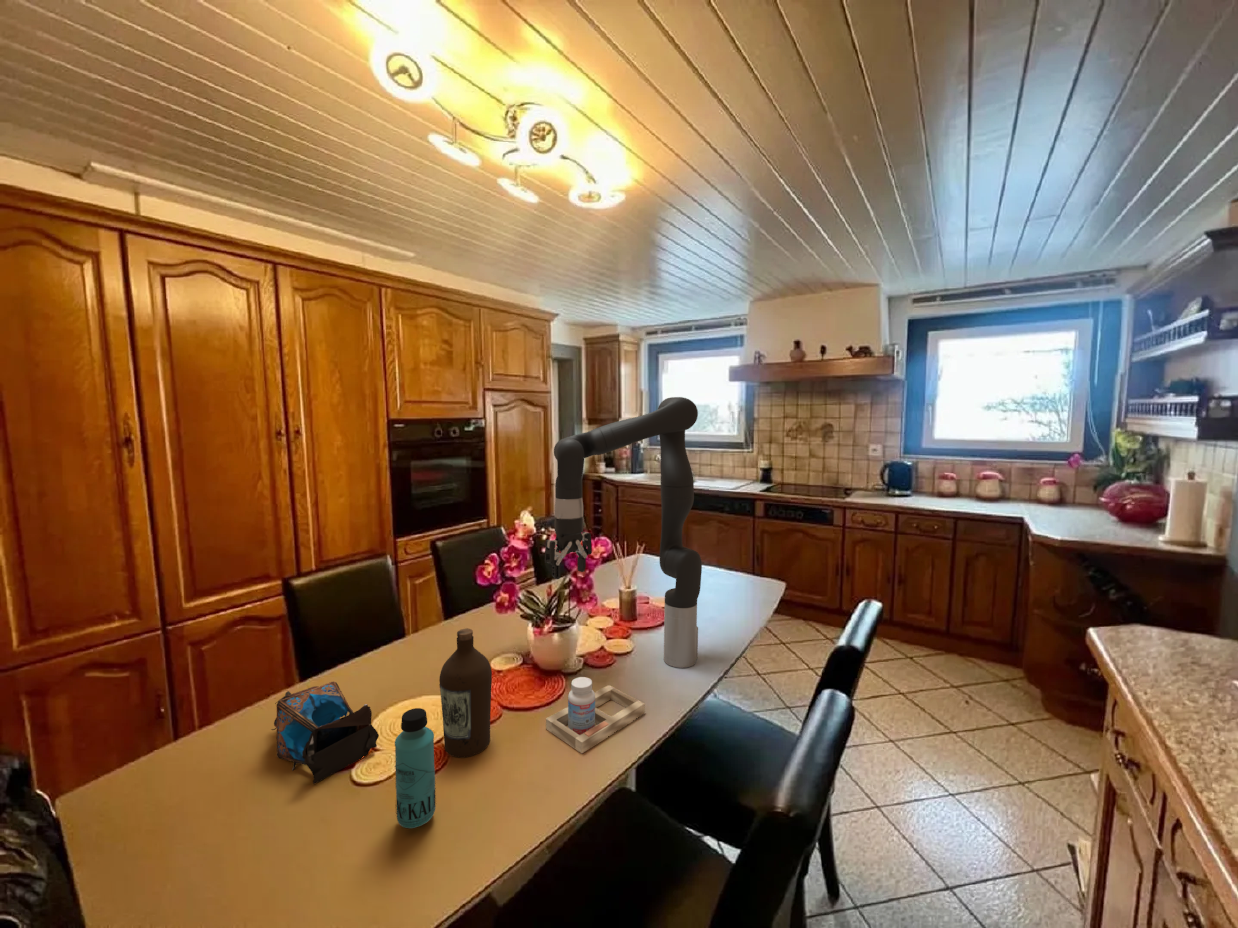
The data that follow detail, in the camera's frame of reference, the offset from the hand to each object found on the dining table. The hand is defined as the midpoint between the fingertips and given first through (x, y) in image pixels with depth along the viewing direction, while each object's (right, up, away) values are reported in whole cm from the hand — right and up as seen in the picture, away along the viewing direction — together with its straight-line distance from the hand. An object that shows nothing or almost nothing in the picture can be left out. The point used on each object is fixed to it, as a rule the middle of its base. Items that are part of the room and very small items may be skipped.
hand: (569, 574), depth 136 cm
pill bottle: (+5, -31, -21) cm, 37 cm away
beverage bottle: (-22, -33, -47) cm, 61 cm away
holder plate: (+8, -30, -17) cm, 36 cm away
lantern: (-50, -31, -28) cm, 65 cm away
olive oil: (-19, -31, -26) cm, 45 cm away
